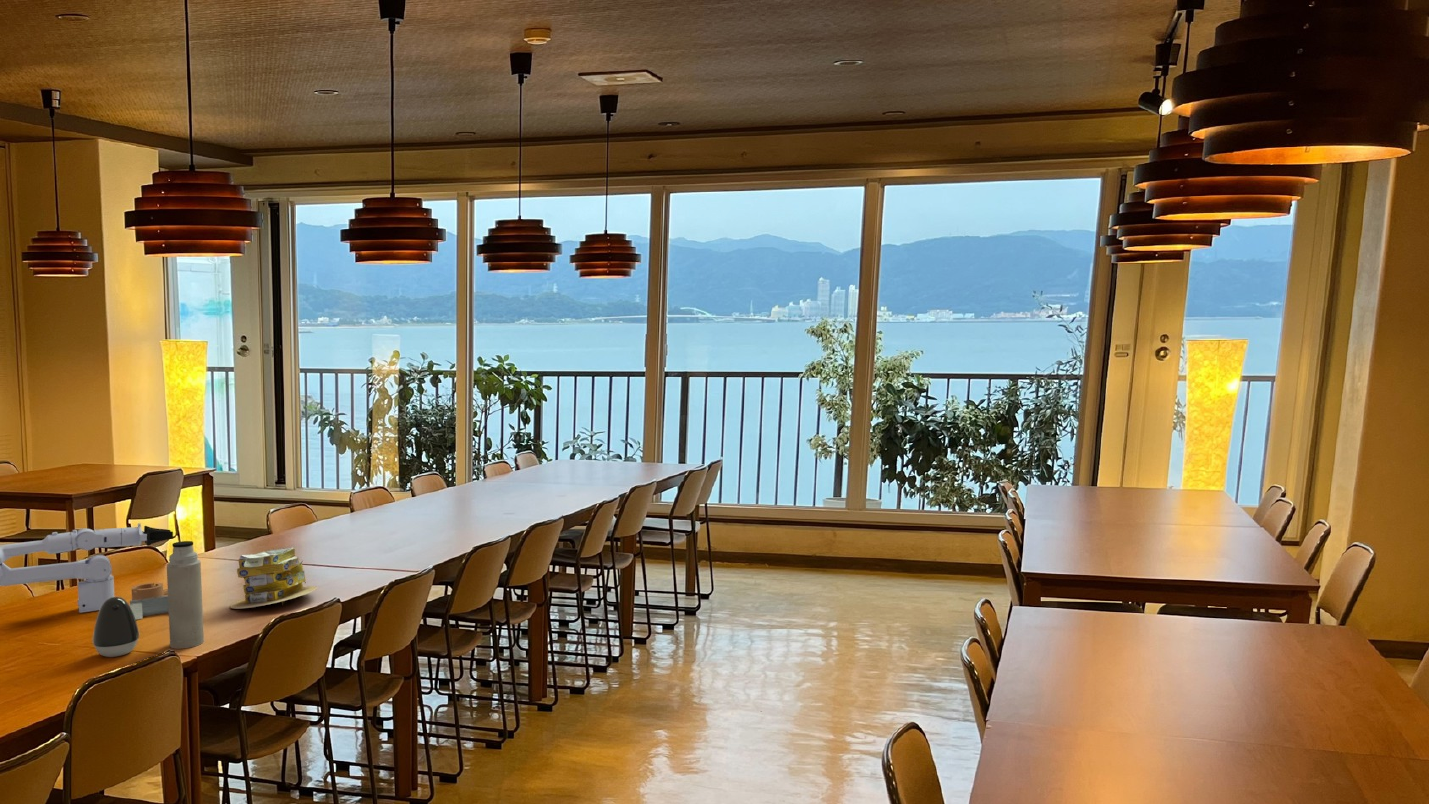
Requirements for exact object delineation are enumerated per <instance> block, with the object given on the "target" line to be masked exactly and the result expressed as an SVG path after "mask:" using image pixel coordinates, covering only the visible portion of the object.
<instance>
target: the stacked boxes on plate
mask: <svg viewBox="0 0 1429 804" xmlns="http://www.w3.org/2000/svg"><path fill="white" fill-rule="evenodd" d="M295 551H296V549H295V547H289V548H279V549H274V548H272V549H270V550H267V551H266V550H265V551H261V552H258V553H255V554H240V556H239V558H238V566H239V568H237V569H236V573H237V577H238V578H241V579H242V578H243V579H244V585H243V586H242V587H243V592H244V599H241V600H238V601H236V602H234V603H232V604H231V605H230V606H229V608H231V609H233V610H234V609H237V610H238V609H249V608H256V607H262V606H266V605H271V604H277V603H281V605H282V606H284V603H285V601H288V600H292V599H296V598H298V597H301V596H305V595H308V594H310V593H313V592H314V591H316V590H317V589H318V586H315V585H303V583H304V584H306V574H305V570H304V567H303V561H304V560H302V561H301V562H300V561H299V560H300V558H299V557H297V556H296V552H295Z"/></svg>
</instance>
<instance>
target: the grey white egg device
mask: <svg viewBox="0 0 1429 804" xmlns="http://www.w3.org/2000/svg"><path fill="white" fill-rule="evenodd" d="M139 638H140V631H139V627H138V623H137V620H136V619H135V617H134V614H133V611H132V609H131V607H130V603H128V602H127V600H125V598H123V597H121V596H114V597H112V598H109V599H107V600H106V601H105V602H104V603H103V605H102V607H101V608H100V610H98V613H97V616H96V619H95V624H94V628H93V635H92V644H93V646H94V648H95V650H96V652H97V653H98V654H99V655H101V656H102V657H107V658H114V657H115V658H116V657H121V656H125V655H127V654H129V653H130V652H132V651H133V650H134V649H135V647H136V646H137V644H138V640H139Z"/></svg>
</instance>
